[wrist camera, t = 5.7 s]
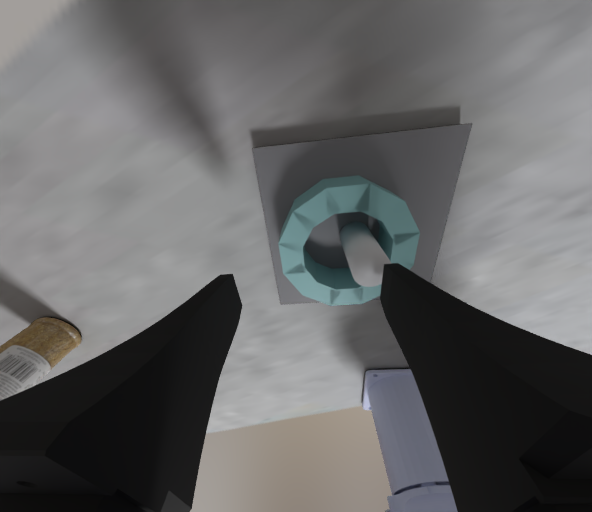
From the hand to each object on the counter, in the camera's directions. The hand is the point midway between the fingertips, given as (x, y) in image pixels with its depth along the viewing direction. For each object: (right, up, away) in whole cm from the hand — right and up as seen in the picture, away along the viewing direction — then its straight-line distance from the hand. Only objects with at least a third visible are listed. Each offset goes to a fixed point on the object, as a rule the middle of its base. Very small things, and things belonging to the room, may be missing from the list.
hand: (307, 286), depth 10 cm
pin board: (+4, +3, +5) cm, 7 cm away
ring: (+3, +3, +5) cm, 6 cm away
